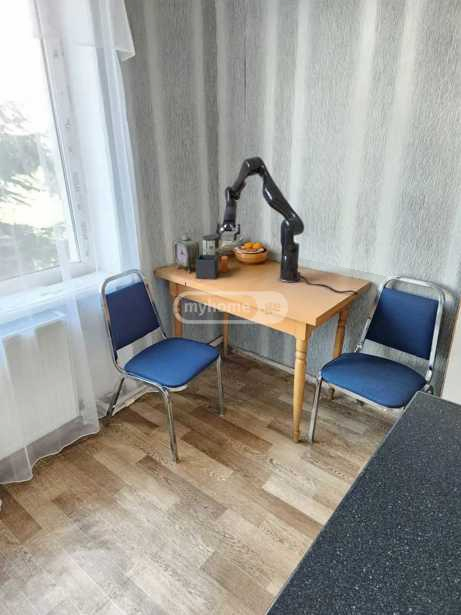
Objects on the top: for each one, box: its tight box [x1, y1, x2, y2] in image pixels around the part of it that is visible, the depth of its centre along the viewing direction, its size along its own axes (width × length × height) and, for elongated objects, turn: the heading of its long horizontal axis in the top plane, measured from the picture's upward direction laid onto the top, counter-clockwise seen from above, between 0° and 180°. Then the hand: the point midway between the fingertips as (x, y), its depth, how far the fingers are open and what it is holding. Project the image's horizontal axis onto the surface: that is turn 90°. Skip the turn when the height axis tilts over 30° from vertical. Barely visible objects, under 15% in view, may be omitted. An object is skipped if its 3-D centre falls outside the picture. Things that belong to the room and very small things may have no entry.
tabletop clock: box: [172, 226, 200, 274], centre depth 225 cm, size 14×9×25 cm, turn 43°
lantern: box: [201, 234, 220, 261], centre depth 246 cm, size 10×10×14 cm
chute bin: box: [195, 254, 219, 280], centre depth 218 cm, size 10×10×11 cm
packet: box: [220, 255, 229, 273], centre depth 226 cm, size 3×5×8 cm, turn 172°
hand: (227, 239), depth 231 cm, fingers open, 8 cm apart
